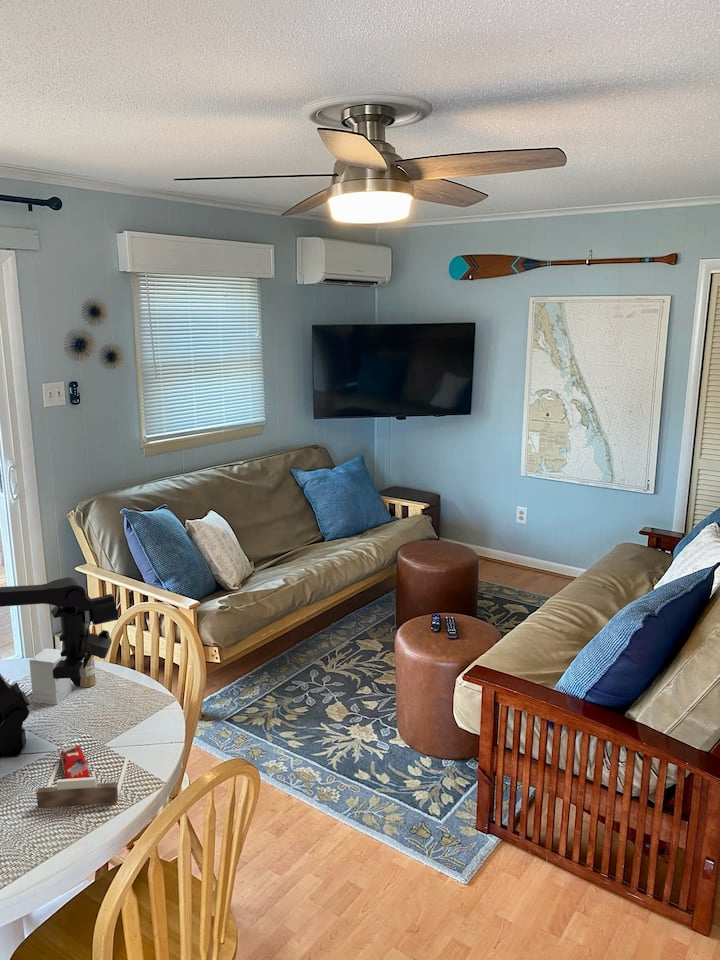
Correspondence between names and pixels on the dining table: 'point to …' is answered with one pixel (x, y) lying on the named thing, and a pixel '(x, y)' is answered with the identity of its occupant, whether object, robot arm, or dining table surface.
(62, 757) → the race car
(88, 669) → the sprinkles bottle
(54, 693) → the supplement box
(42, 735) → the dining table surface
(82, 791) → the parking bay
